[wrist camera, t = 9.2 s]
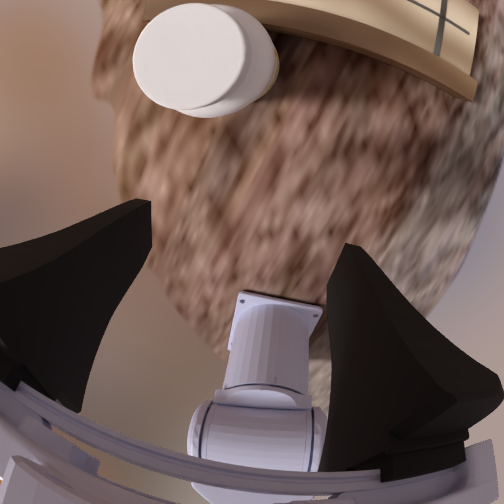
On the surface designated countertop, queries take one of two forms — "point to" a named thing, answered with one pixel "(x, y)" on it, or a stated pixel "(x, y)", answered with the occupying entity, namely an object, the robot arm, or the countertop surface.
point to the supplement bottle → (205, 59)
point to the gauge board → (376, 32)
